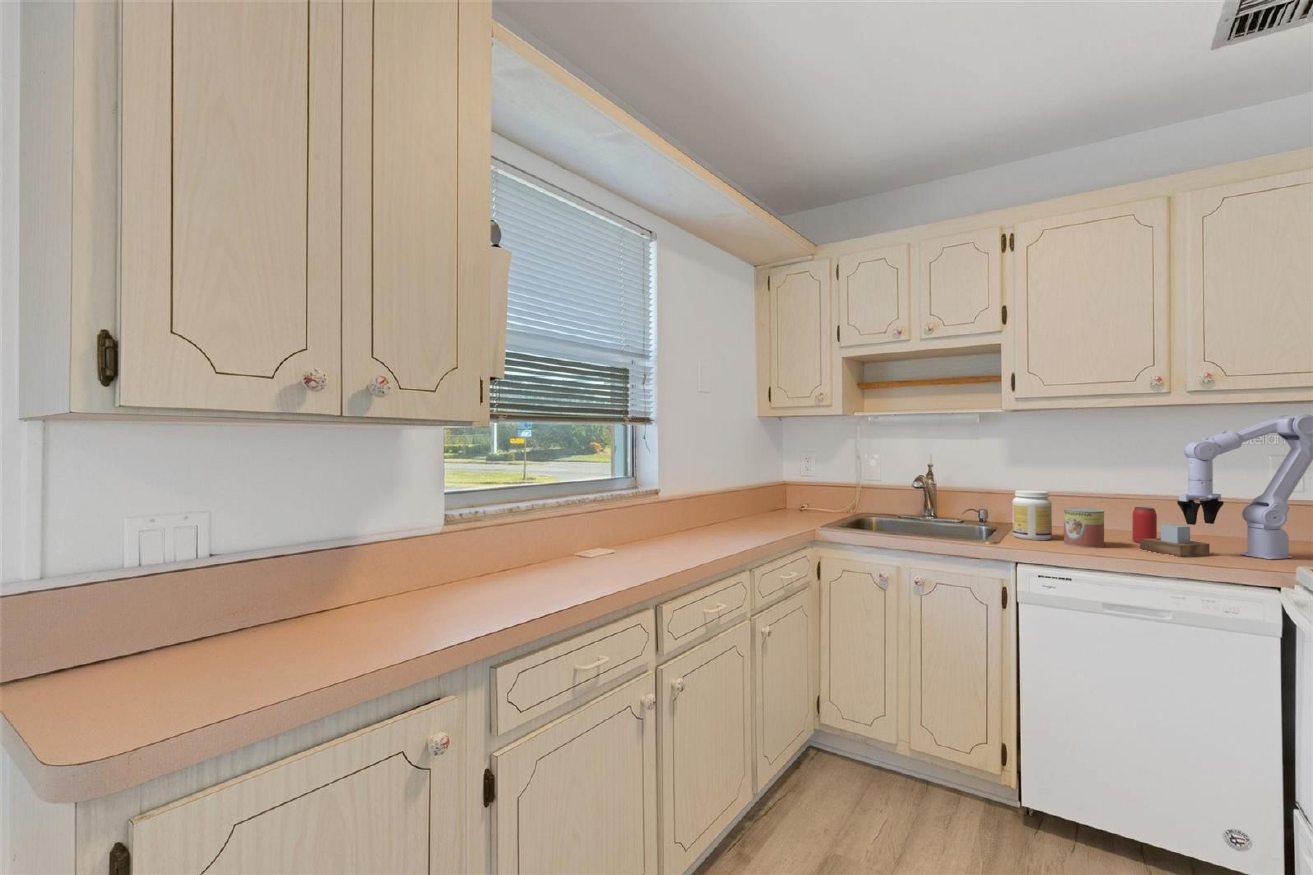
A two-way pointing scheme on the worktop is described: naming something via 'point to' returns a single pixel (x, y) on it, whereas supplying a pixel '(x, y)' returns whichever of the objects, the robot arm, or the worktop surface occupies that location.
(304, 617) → the worktop surface
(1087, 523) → the canned food
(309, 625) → the worktop surface
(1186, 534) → the slate cube
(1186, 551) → the walnut block
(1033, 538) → the supplement tub
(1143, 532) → the beer can
